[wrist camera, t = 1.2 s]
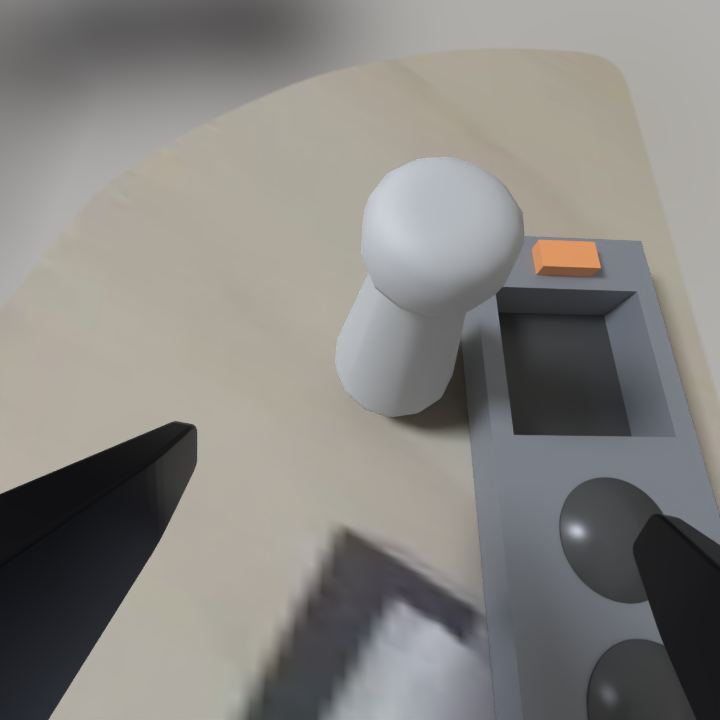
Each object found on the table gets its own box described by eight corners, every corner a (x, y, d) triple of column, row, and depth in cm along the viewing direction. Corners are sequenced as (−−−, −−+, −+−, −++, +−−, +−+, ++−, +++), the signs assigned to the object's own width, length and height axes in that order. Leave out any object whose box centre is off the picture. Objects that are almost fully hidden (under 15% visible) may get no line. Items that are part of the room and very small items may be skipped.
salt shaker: (451, 342, 23) (583, 152, 11) (427, 440, 21) (556, 341, 9) (352, 313, 23) (372, 94, 11) (319, 406, 21) (299, 264, 9)
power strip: (786, 1007, 15) (931, 1167, 11) (523, 1024, 14) (587, 1197, 10) (606, 271, 25) (651, 231, 22) (454, 265, 25) (474, 224, 21)
